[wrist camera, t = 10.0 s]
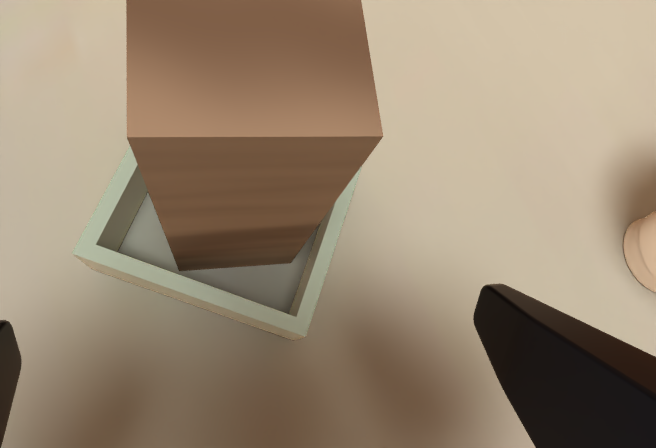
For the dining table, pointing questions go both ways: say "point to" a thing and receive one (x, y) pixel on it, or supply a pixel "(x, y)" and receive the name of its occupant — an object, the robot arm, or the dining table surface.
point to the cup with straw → (642, 250)
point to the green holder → (102, 256)
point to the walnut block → (247, 120)
